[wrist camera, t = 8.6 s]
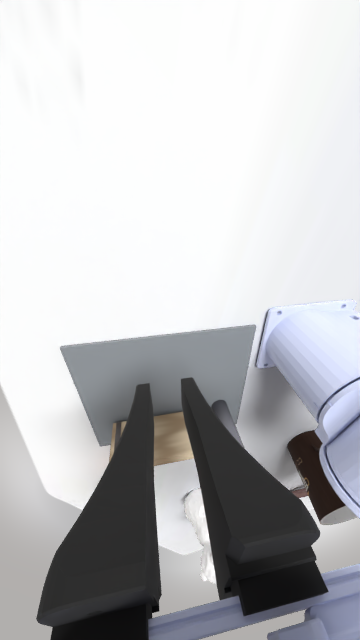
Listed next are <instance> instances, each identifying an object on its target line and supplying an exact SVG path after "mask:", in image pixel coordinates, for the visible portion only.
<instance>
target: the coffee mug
mask: <svg viewBox="0 0 360 640" xmlns="http://www.w3.org/2000/svg"><path fill="white" fill-rule="evenodd" d="M322 444H323V443H322V442H321V440H320V439H319V437H318V436H317V434H316V433H315V430H313V431H307V432H304V433H302V434H299V435H297V436H296V437H294V438H293V439H292V440H291V441H290V442H289V443H288V449H289V452H290V454H291V456H292V459H293V461H294V463H295V466H296V468H297V470H298V473H299V475H300V477H301V480H302V482H303V484H304V487H305V489H306V491H307V494H308V496H309V498H310V500H311V503H312V505H313V507H314V510H315V512H316V514H317V517H318V519H319V521H320V524H322V525H332V524H337V523H341V522H345V521H348V520H351V519H354V518H357V516H356V515H355V514H354V513H353V512H352V511H351V510H350V509H349V508H348V507H347V506H346V505H345V504H344V503H343V501H342V500H341V499H340V498H339V496H338V495H337V494H336V492H335V491H334V489H333V488H332V486H331V484H330V483H329V481H328V479H327V477H326V475H325V473H324V471H323V468H322V465H321V462H320V455H319V452H320V448H321V446H322Z"/></svg>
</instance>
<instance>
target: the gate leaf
mask: <svg viewBox="0 0 360 640" xmlns="http://www.w3.org/2000/svg"><path fill="white" fill-rule="evenodd" d="M126 422H127V421H124V422H116V423H113V429H112V439H111V449H110V459H109V462H110V460H111V458H112V456H113V454H114V451H115V449H116V447H117V445H118V442H119V440H120V437H121V435H122V432H123V430H124V427H125V425H126ZM193 458H194V455H193V452H192V448H191V444H190V440H189V437H188V433H187V429H186V425H185V421H184V415H183V412H178V413H172V414H166V415H160V416H154V466H157V465H162V464H167V463H173V462H178V461H183V460H188V459H193Z"/></svg>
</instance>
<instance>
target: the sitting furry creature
mask: <svg viewBox="0 0 360 640" xmlns="http://www.w3.org/2000/svg"><path fill="white" fill-rule="evenodd" d="M184 507H185V515H186V518H188V519H189V521H190V522H191V523H192V525H193V526H194V528H195V533H196V535H197V539H198V540H199V541H200V544H201V545H202V546H203V547H204V548H203V551H202V556H201V567H202V570H201V577H202V580H203V581H207V580H209V582H212V583H214V584H217V583H216V576H215V570H214V564H213V558H212V552H211V545H210V539H209V533H208V528H207V522H206V516H205V510H204V504H203V499H202V493H201V488H198V489H194V490H193V491H191V492H190V493H189V495H188V496H187V497H186V498H185V502H184Z"/></svg>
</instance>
